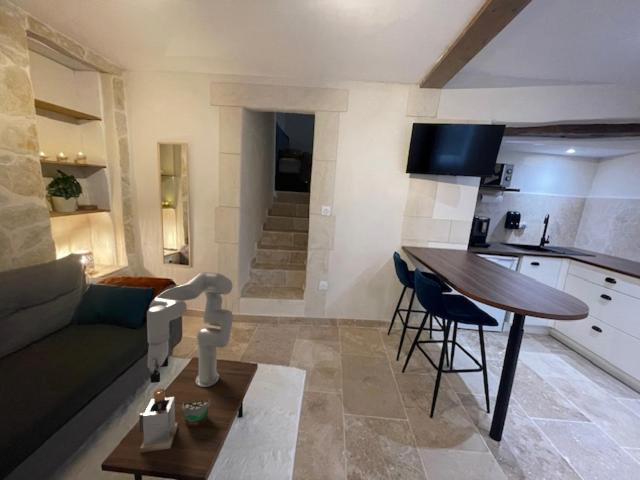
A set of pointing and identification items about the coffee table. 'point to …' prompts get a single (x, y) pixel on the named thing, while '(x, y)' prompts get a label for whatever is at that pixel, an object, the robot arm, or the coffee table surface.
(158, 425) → the press sleeve
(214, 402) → the coffee table surface
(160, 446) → the base
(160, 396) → the plunger
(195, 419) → the food container
